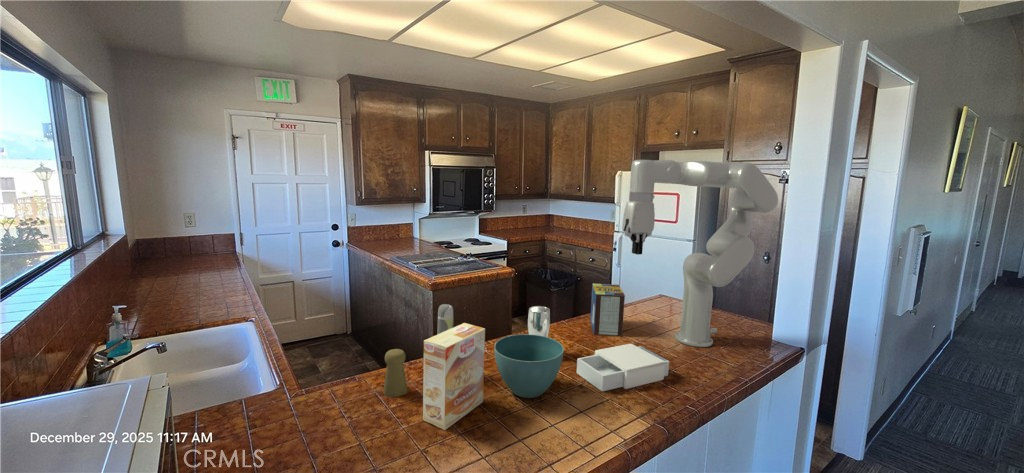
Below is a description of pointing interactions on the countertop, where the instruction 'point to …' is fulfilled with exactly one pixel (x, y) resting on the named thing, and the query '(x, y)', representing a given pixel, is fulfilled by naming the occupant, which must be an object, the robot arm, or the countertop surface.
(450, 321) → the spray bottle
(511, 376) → the teal bowl
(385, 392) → the olive green pepper shaker
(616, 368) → the white sliding drawer box
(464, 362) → the coffeecake box
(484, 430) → the countertop surface
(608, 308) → the protein box
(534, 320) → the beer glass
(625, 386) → the sleeve
